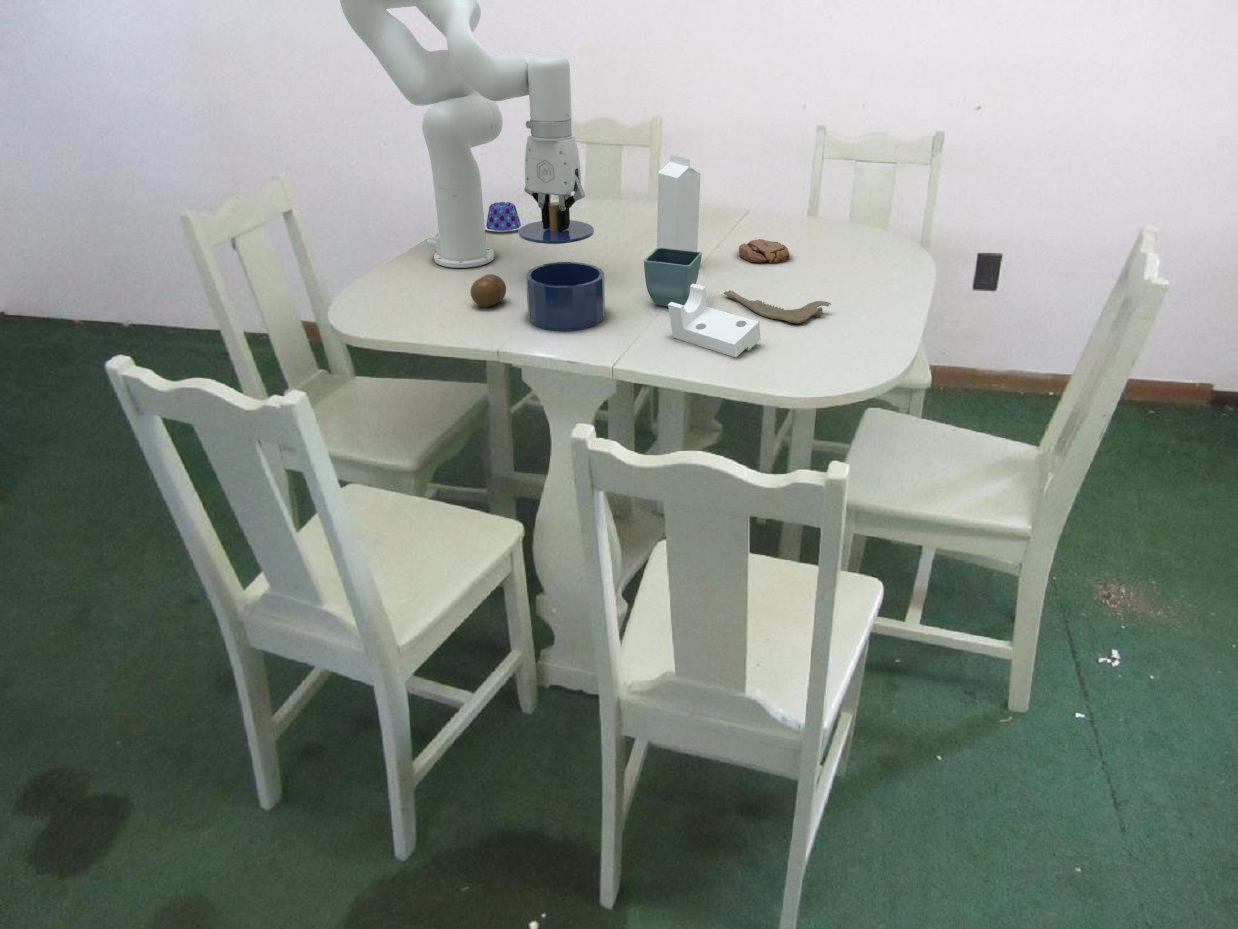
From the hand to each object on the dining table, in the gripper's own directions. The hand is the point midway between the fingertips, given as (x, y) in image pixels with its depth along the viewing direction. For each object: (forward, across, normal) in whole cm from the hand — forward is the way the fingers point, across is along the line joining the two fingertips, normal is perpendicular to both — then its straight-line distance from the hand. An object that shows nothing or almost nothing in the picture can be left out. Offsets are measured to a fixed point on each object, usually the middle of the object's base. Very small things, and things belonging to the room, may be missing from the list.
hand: (556, 227), depth 176 cm
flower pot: (+11, +26, -2) cm, 28 cm away
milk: (+11, +18, +18) cm, 27 cm away
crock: (+10, +12, -17) cm, 23 cm away
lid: (+1, 0, 0) cm, 1 cm away
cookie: (+11, +32, +32) cm, 46 cm away
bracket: (+11, +40, -16) cm, 44 cm away
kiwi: (+10, -4, -18) cm, 21 cm away
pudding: (+10, -30, +26) cm, 41 cm away
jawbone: (+11, +44, +5) cm, 45 cm away
